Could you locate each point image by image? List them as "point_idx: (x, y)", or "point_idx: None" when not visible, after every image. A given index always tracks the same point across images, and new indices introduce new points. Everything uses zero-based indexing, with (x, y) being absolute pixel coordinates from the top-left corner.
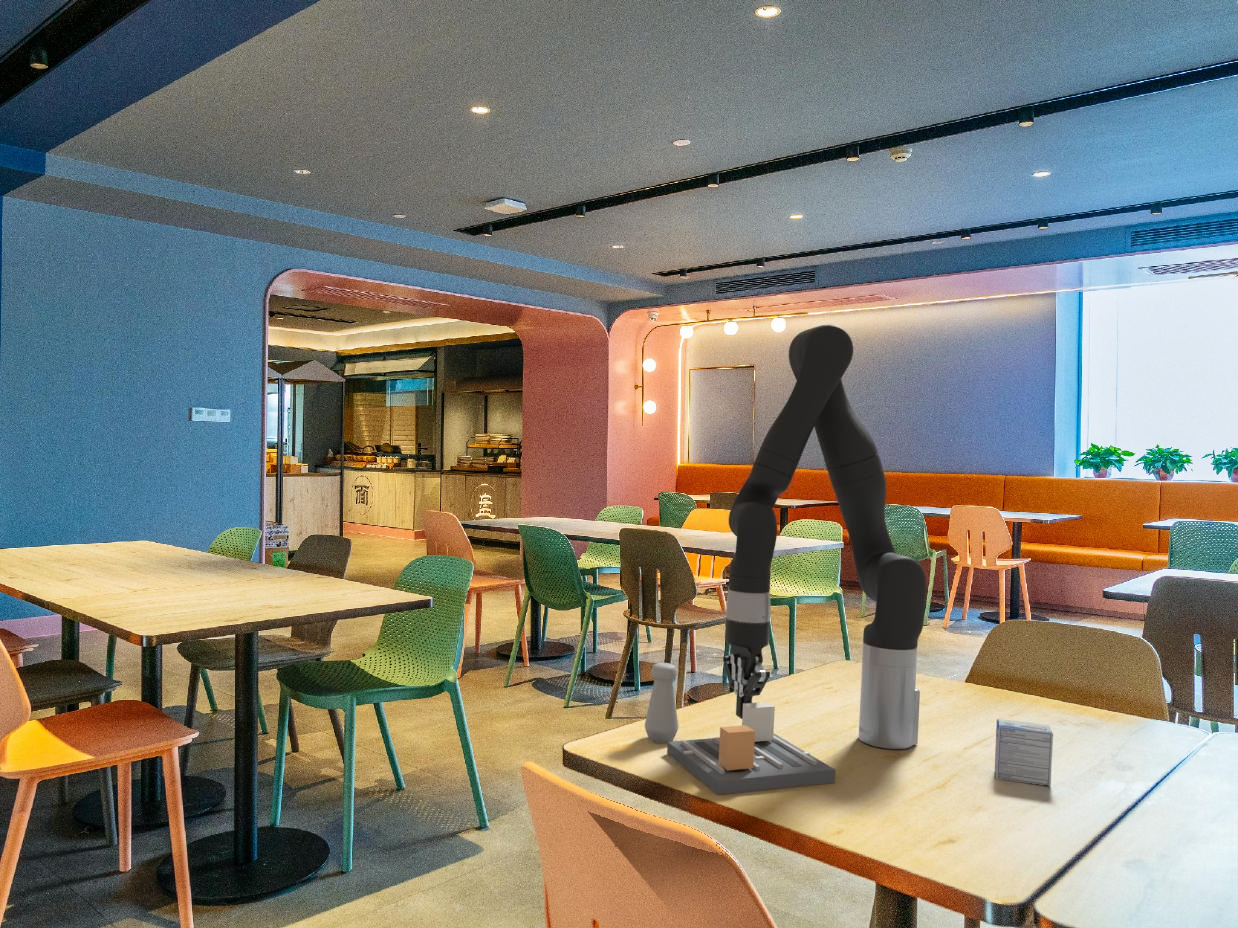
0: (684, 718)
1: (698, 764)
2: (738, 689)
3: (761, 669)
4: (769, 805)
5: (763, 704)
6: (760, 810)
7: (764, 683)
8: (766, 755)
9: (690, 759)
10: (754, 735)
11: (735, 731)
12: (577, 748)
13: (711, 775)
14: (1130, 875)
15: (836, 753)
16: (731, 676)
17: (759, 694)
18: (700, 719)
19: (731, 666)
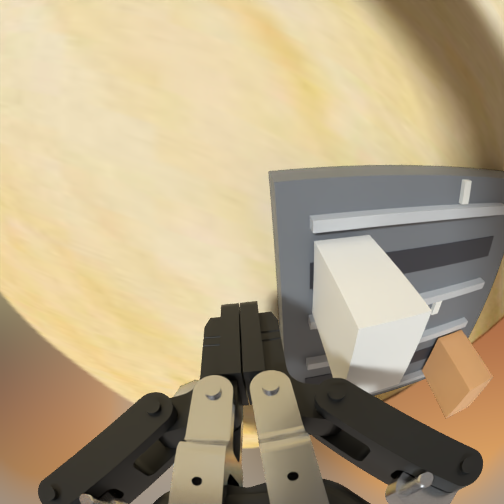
0: (55, 321)
1: (397, 387)
2: (242, 429)
3: (446, 499)
4: (490, 307)
5: (387, 346)
6: (489, 319)
7: (426, 431)
8: (447, 298)
9: (376, 394)
10: (488, 370)
11: (472, 400)
12: None
13: None
14: None
15: (375, 18)
16: (165, 467)
17: (349, 382)
18: (50, 294)
19: (125, 495)
